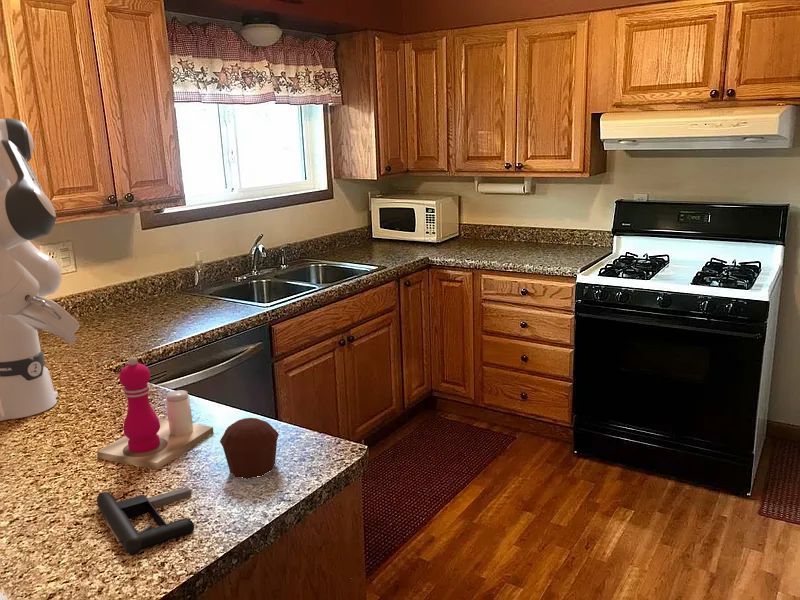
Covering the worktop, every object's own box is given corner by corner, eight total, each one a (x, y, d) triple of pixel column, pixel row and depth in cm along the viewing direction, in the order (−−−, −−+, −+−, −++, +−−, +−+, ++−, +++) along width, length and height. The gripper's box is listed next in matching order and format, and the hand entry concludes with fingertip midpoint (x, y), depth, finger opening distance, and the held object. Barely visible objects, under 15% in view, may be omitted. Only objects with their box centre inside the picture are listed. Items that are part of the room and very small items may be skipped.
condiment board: (97, 458, 139) (96, 451, 139) (157, 423, 156) (157, 417, 155) (157, 469, 134) (156, 462, 133) (213, 433, 150) (212, 426, 149)
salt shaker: (165, 434, 146) (160, 396, 144) (180, 425, 151) (175, 388, 148) (183, 437, 144) (178, 399, 142) (198, 428, 149) (193, 391, 147)
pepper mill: (166, 438, 144) (155, 351, 139) (156, 453, 137) (144, 362, 132) (133, 439, 144) (121, 352, 139) (121, 455, 137) (107, 364, 132)
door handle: (176, 471, 129) (87, 495, 119) (217, 514, 113) (119, 546, 104) (177, 486, 129) (89, 511, 120) (218, 532, 114) (120, 565, 104)
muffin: (293, 464, 134) (289, 419, 131) (250, 488, 125) (245, 439, 123) (254, 449, 141) (250, 406, 138) (211, 470, 132) (206, 424, 130)
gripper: (60, 290, 117) (103, 335, 127) (-10, 266, 126) (36, 310, 136) (34, 318, 114) (81, 361, 124) (-35, 291, 123) (13, 333, 133)
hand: (57, 334), depth 130 cm, fingers open, 8 cm apart
